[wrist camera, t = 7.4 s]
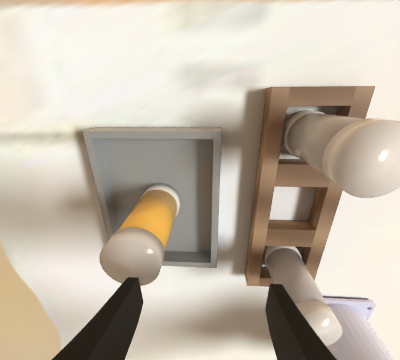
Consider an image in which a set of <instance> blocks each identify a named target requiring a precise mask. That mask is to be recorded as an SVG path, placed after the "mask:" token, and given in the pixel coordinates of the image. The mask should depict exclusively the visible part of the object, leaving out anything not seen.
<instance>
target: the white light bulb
mask: <svg viewBox="0 0 400 360" xmlns="http://www.w3.org/2000/svg"><path fill="white" fill-rule="evenodd" d="M281 142H282V145H283V147H284V148H285V149H286V150H287V151H288V152H289V153H291V154H292V155H294V156H296V157H298V158H300V159H302V160H303V161H305V162H306V163H308V164H309V165H311V166H312V167H314V168H315V169H317V170H318V171H320V172H321V173H322V174H324V175H325V176H326V177H327V178H328V179H329V180H330V181H331V182H332V183H334V184H335V185H337V186H338V187H339V188H341V189H342V190H344V191H345V192H347V193H348V194H350V195H352V196H355V197H360V198H373V197H378V196H382V195H385V194H388V193H390V192H392V191H394V190H396V189H398V188H399V187H400V121H394V120H385V119H376V118H369V119H360V118H352V117H345V116H337V115H330V114H325V113H323V112H318V111H309V110H307V111H301V112H298V113H296V114H294V115H293V116H292V117H290V118H289V119H288V120H287V121H286V123H285V124H284V129H283V135H282V141H281Z"/></svg>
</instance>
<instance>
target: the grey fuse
mask: <svg viewBox="0 0 400 360" xmlns="http://www.w3.org/2000/svg"><path fill="white" fill-rule="evenodd" d="M263 258H264V261H265V264H266V267H267V268H268V270H269V273H270V277H271V280H272V283H273V284H282V285H283V286H284V288H285V289H286V291H287V292H288V294H289V295H290V297H291V298H292V300H293V301H294V303H295V304H296V306H297V307H298V309H299V310H300V312H301V313H302V314H303V316H304V317H305V319H306V320H307V321H308V323H309V324H310V326H311V327H312V328H313V330H314V331H315V332H316V334H317V335H318V336H319V338H320V339H321V340H322V342H323V343H324V344H325V345H326V346H329V345H331V344H333V343H335V342H336V341H337V340H338V339H339V338H340V337H341V335H342V327H341V325H340V324H339V322H338V320H337V318H336V317H335V315H334V313H333V311H332V310H331V308H330V307H329V306H328V305H327V303H326V301H325V300H324V298H323V296H322V294H321V293H320V291H319V289H318V287H317V285H316V284H315V282H314V280H313V278H312V276H311V275H310V273H309V271H308V269H307V267H306V266H305V264H304V262H303V260H302V258H301V255H300V253H299V251H298V249H297V248H296V247H294V246H267V245H266V246H265V248H264V254H263Z"/></svg>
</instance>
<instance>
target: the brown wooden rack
mask: <svg viewBox="0 0 400 360" xmlns="http://www.w3.org/2000/svg"><path fill="white" fill-rule="evenodd" d="M374 89H375V86H338V87H271V88H267V90H266V98H265V107H264V116H263V124H262V133H261V141H260V150H259V158H258V167H257V176H256V184H255V193H254V201H253V210H252V219H251V227H250V236H249V244H248V253H247V261H246V270H245V277H246V282H247V286H268V287H269V286H270V284H273V283H272V280H271V277H270V273H269V270H268V268H267V267H262V261H263V254H264V248H265V245H267V246H294V247H302V249H301V253H300V255H301V258H302V260H303V262H304V264H305V266H306V267H307V269H308V271H309V273H310V275H311V276H312V278H313V280H315V276H316V273H317V270H318V267H319V264H320V260H321V257H322V254H323V251H324V248H325V245H326V241H327V238H328V235H329V232H330V229H331V226H332V222H333V219H334V216H335V213H336V210H337V206H338V203H339V200H340V197H341V194H342V191H343V190H342V189H341V188H339V187H338V186H337V185H335V184H334V183H332V182H331V181H330V180H329V179H328V178H327V177H326V176H325V175H324V174H322V173H321V172H320V171H318V170H317V169H315V168H314V167H312V166H311V165H309V164H308V163H306V162H305V161H303V160H302V159H279V154H280V148H281V141H282V135H283V129H284V122H285V116H286V110H287V106H338V109H337V113H336V115H337V116H345V117H352V118H360V119H365V118H366V114H367V111H368V108H369V105H370V102H371V98H372V95H373V92H374ZM274 186H285V187H317V191H316V195H315V199H314V203H313V206H312V210H311V214H310V218H309V221H285V220H269V217H270V210H271V204H272V198H273V192H274Z"/></svg>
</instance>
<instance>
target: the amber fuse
mask: <svg viewBox="0 0 400 360" xmlns="http://www.w3.org/2000/svg"><path fill="white" fill-rule="evenodd" d="M180 204H181V198H180V195H179V193H178V192H177V191H176V189H175V188H173V187H172V186H170V185H168V184H164V183H156V184H153V185H151V186H149V187H148V188H147V189H146V191H145V192H144V194H143V195H142V196H141V199H140V201H139V202H138V204H137V205H136V206H135V208H134V209H133V211H132V212H131V213H130V215H129V216H128V217H127V219H126V220H125V222H124V223H123V224H122V226H121V227H120V228H119V230H118V231H116V232H115V233H114V234H113V235H112V237H111V238H110V239H109V241H108V242H107V244H106V245H105V246H104V248H103V249H102V251H101V253H100V264H101V266H102V268H103V270H104V271H105V272H106V273H107V274H108V275H109V276H110V277H111V278H112V279H114V280H116V281H118V282H120V283H123V282H124V281H125V280H126V278H128V277H136V278H139V283H140V286H142V285H146V284H149V283H151V282H152V281H154V280H155V279H156V278H157V276H158V275H159V272H160V269H161V265H162V262H163V259H164V255H165V248H166V245H167V242H168V239H169V235H170V232H171V229H172V226H173V223H174V220H175V217H176V216H177V214H178V211H179V208H180Z"/></svg>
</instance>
